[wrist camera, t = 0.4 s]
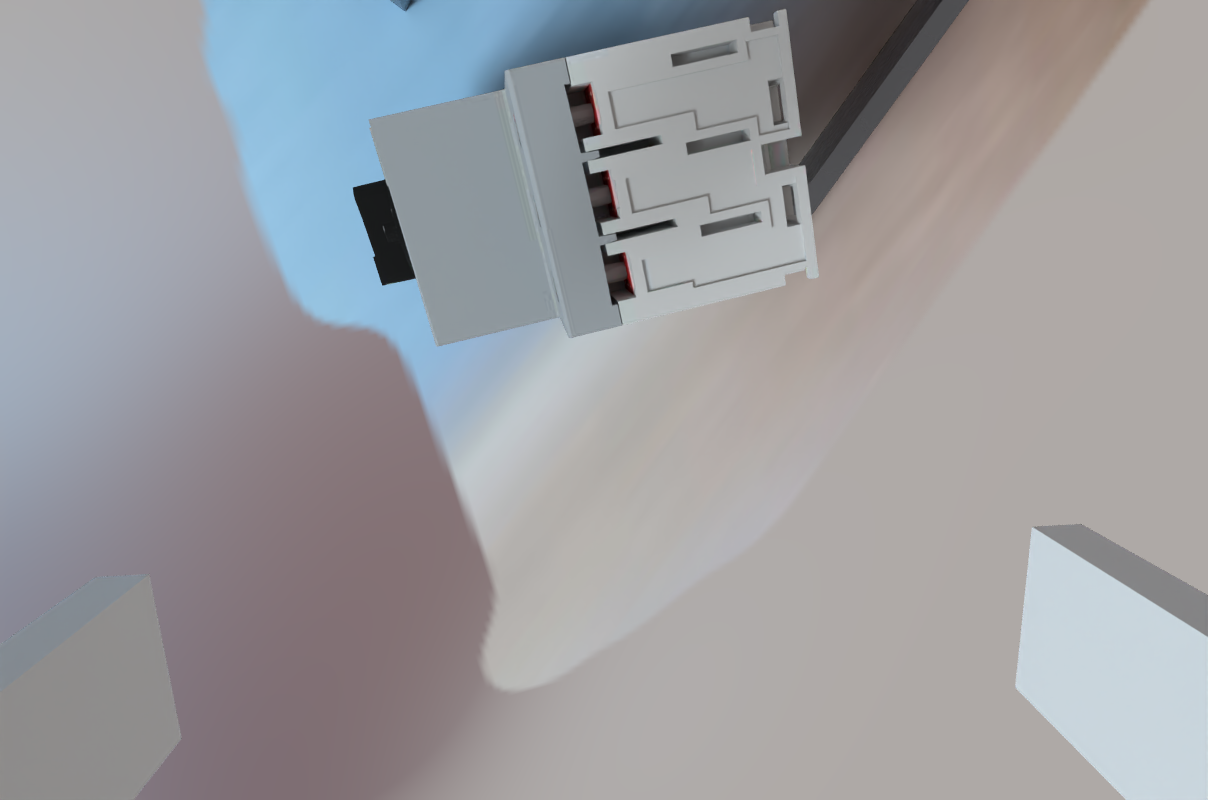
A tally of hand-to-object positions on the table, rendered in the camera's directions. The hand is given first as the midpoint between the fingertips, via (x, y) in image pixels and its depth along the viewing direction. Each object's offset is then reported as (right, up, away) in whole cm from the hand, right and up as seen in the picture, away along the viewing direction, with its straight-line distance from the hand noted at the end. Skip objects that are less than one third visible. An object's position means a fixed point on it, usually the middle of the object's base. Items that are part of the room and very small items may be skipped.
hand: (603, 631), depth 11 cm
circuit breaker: (-3, +13, +24) cm, 28 cm away
